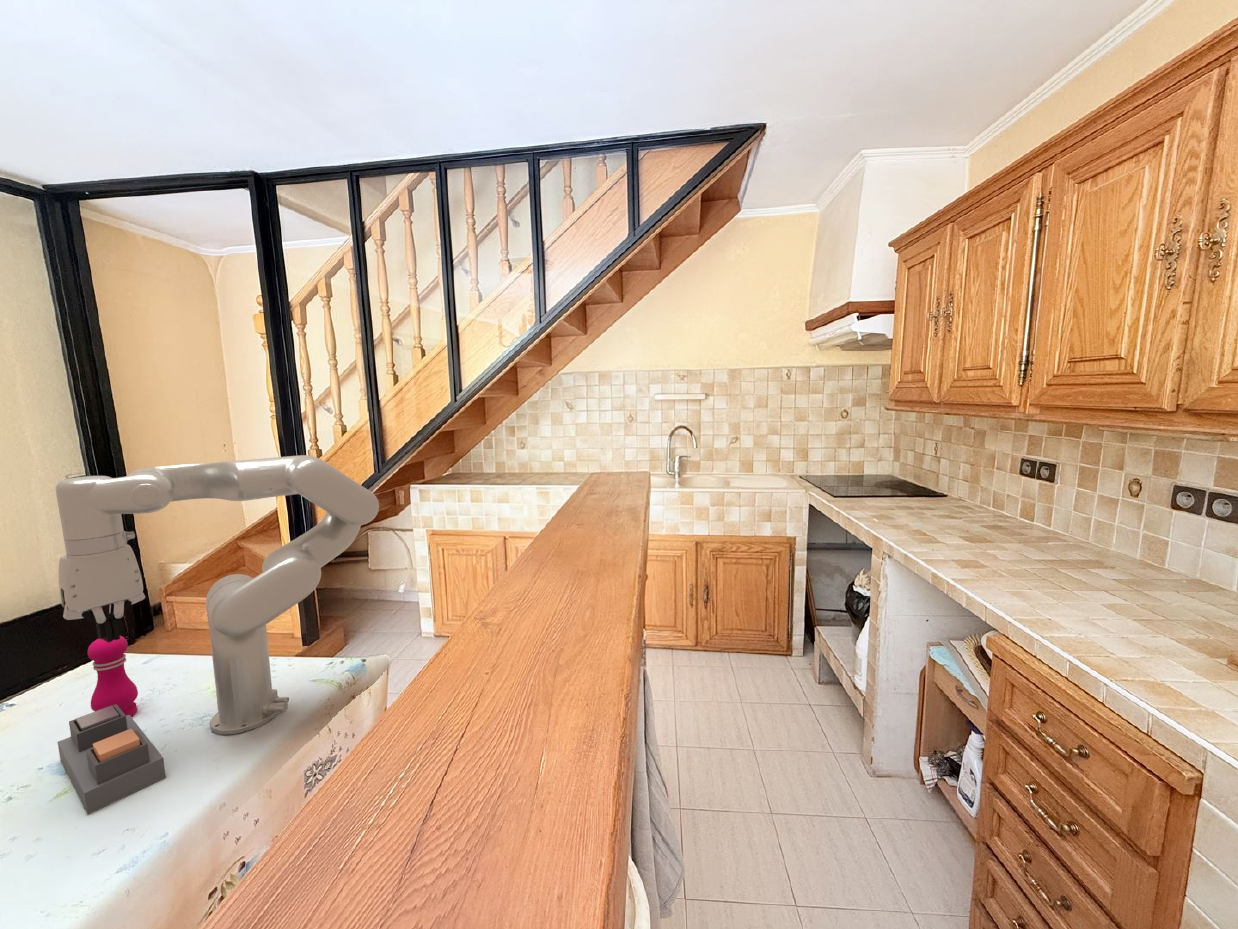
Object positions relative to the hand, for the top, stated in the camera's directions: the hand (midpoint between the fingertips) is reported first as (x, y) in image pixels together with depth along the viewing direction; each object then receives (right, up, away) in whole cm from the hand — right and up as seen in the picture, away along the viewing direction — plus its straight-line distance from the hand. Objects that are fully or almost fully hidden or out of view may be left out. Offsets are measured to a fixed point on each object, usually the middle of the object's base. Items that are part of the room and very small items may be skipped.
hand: (111, 639), depth 93 cm
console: (0, -24, 0) cm, 24 cm away
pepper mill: (-14, -23, +15) cm, 31 cm away
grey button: (-6, -19, +3) cm, 20 cm away
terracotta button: (+6, -19, -5) cm, 21 cm away
